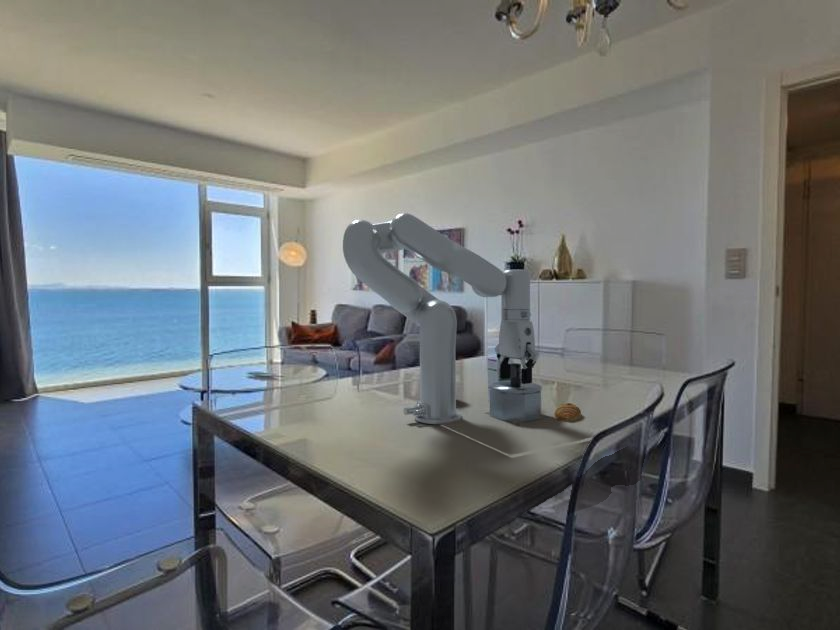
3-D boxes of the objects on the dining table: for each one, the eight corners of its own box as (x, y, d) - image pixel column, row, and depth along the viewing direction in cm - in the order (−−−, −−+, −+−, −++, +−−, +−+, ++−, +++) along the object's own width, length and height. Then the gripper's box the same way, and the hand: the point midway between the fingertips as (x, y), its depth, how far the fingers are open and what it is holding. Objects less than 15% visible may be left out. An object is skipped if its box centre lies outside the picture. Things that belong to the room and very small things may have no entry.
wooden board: (512, 425, 120) (512, 422, 120) (484, 415, 130) (484, 412, 130) (548, 418, 125) (548, 416, 125) (518, 409, 136) (518, 407, 136)
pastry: (580, 426, 119) (580, 411, 119) (552, 424, 122) (552, 409, 122) (581, 417, 128) (581, 403, 128) (555, 415, 131) (555, 401, 130)
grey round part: (512, 424, 119) (512, 369, 118) (480, 412, 130) (480, 362, 130) (552, 417, 125) (552, 365, 125) (518, 406, 137) (518, 359, 136)
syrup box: (498, 407, 139) (497, 358, 139) (487, 403, 145) (487, 355, 144) (514, 405, 141) (514, 356, 141) (502, 401, 147) (502, 354, 146)
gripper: (549, 316, 121) (549, 384, 122) (505, 314, 136) (505, 375, 137) (527, 317, 117) (526, 387, 118) (484, 315, 133) (484, 377, 133)
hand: (515, 380), depth 127 cm, fingers open, 8 cm apart
